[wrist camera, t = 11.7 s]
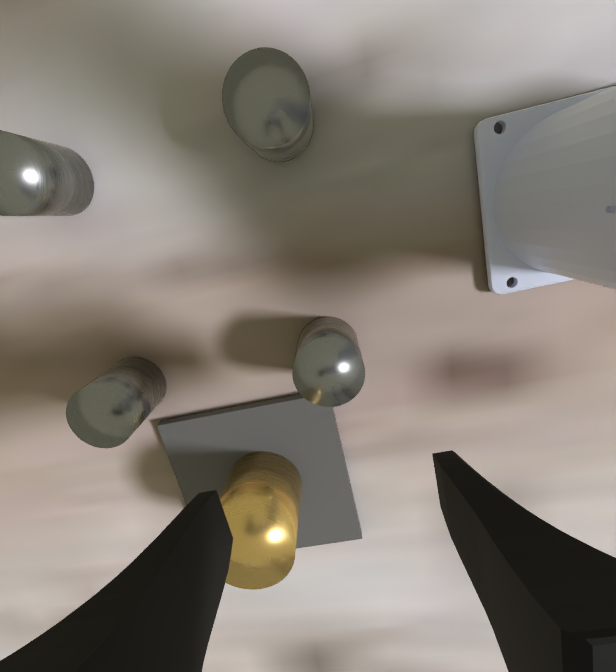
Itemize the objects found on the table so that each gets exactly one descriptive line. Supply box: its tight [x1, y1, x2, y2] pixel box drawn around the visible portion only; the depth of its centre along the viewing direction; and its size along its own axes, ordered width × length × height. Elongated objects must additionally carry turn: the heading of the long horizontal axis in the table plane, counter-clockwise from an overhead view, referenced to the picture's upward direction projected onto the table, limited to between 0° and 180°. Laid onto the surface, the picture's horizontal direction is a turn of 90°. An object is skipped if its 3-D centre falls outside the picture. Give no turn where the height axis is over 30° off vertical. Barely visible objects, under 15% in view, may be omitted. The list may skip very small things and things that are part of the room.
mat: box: [157, 394, 362, 548], centre depth 23 cm, size 10×10×1 cm
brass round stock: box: [219, 452, 302, 589], centre depth 21 cm, size 4×4×5 cm
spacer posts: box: [0, 48, 365, 448], centre depth 18 cm, size 14×14×4 cm
